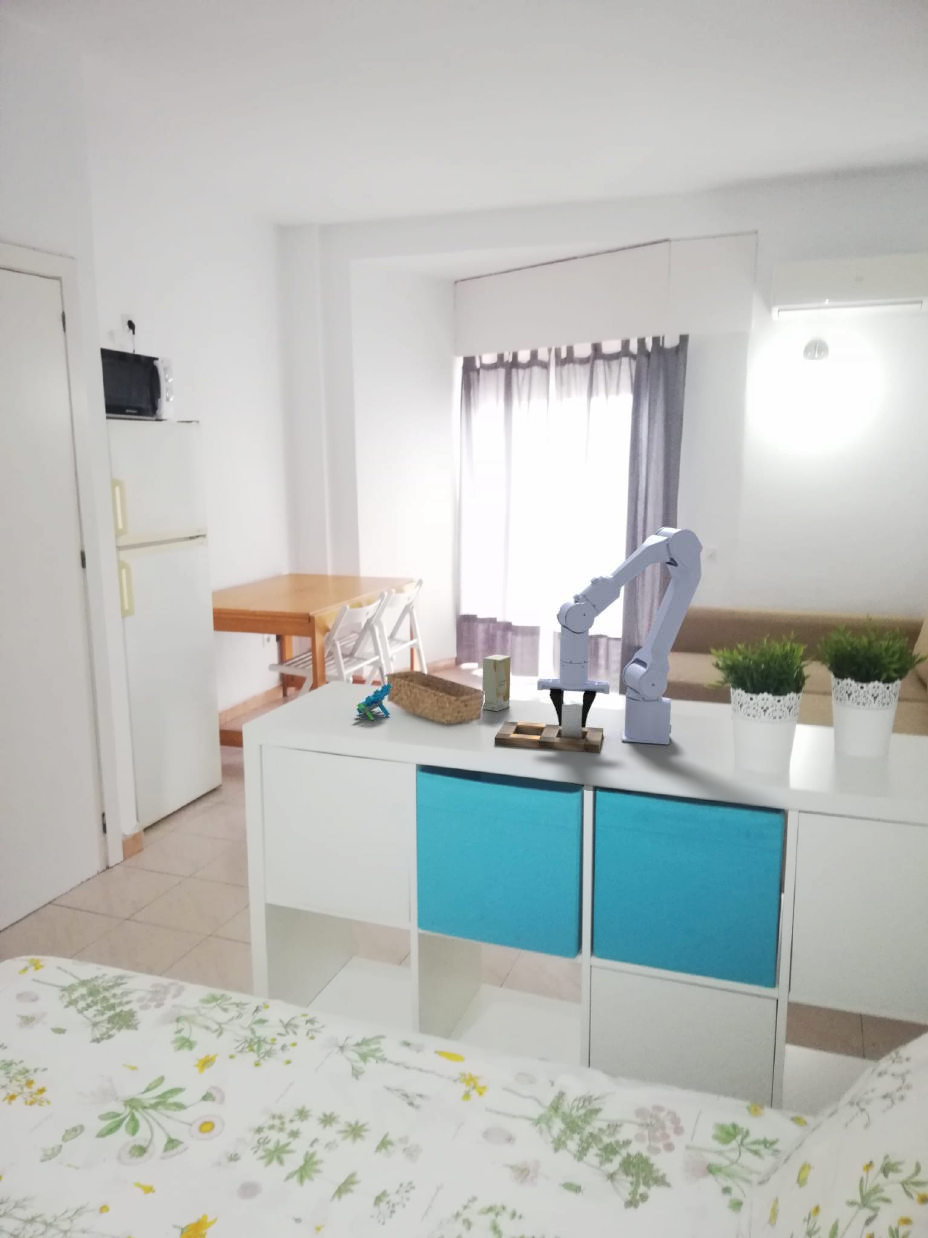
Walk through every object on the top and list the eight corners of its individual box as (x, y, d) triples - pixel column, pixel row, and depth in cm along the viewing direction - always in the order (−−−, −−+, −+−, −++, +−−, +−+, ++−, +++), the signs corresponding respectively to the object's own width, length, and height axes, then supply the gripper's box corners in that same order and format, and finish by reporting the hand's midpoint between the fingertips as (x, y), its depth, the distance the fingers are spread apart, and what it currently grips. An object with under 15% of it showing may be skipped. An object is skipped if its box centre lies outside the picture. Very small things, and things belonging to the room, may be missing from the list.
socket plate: (603, 735, 180) (603, 727, 180) (599, 752, 168) (599, 744, 168) (505, 728, 185) (505, 720, 184) (494, 744, 173) (494, 736, 173)
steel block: (582, 734, 177) (583, 701, 176) (581, 739, 173) (581, 706, 172) (563, 732, 178) (564, 700, 177) (561, 738, 174) (562, 705, 173)
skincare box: (497, 712, 197) (498, 660, 195) (481, 709, 199) (481, 658, 197) (510, 706, 203) (511, 655, 201) (494, 703, 205) (495, 653, 203)
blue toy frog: (376, 699, 201) (397, 675, 195) (392, 719, 200) (413, 695, 194) (344, 716, 192) (364, 691, 186) (360, 736, 191) (381, 712, 185)
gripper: (611, 658, 175) (609, 722, 177) (541, 655, 178) (539, 718, 180) (609, 665, 168) (607, 732, 170) (536, 661, 171) (535, 727, 174)
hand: (572, 725), depth 175 cm, fingers closed on steel block, 4 cm apart
